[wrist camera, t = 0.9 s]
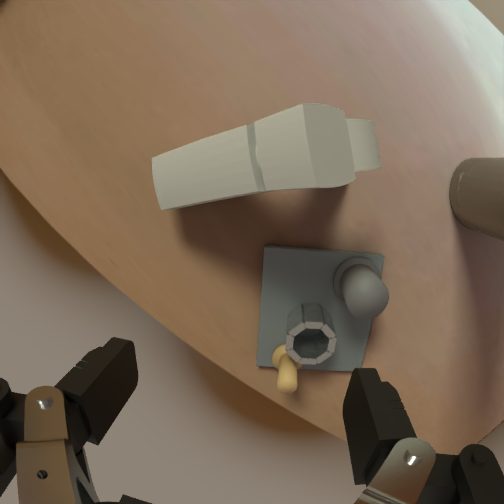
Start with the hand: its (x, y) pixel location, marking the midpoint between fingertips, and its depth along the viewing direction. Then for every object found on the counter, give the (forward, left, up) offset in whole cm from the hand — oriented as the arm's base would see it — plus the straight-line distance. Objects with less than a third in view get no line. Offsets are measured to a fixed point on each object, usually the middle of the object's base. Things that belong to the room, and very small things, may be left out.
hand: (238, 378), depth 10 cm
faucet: (+2, -8, -27) cm, 28 cm away
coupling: (-5, +10, -25) cm, 28 cm away
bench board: (-6, +9, -26) cm, 29 cm away
